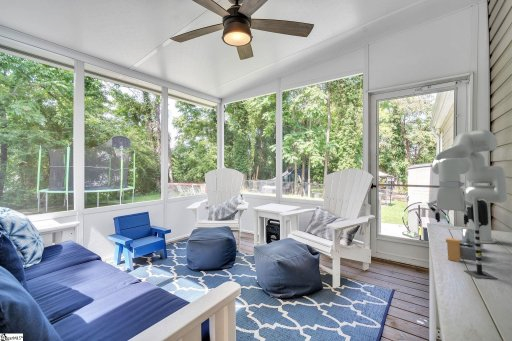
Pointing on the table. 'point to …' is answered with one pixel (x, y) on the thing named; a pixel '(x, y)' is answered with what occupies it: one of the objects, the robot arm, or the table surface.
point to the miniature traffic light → (478, 215)
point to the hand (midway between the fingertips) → (451, 222)
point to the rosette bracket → (468, 244)
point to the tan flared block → (453, 249)
